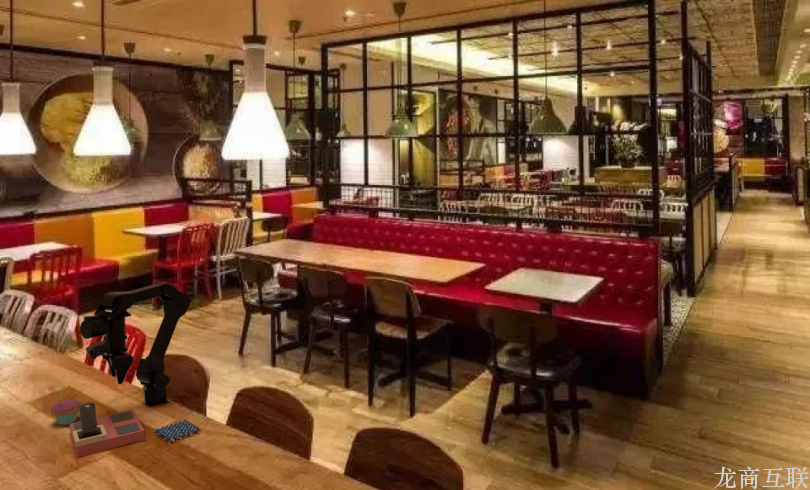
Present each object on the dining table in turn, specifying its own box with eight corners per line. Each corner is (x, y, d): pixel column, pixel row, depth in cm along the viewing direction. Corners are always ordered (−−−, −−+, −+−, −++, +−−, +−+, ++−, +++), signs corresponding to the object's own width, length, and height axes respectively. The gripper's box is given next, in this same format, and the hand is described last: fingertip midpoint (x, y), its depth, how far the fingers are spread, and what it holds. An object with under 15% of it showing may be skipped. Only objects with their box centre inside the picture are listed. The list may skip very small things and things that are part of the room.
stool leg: (100, 443, 179) (97, 401, 177) (95, 450, 175) (91, 407, 173) (86, 444, 178) (82, 402, 176) (81, 451, 174) (77, 408, 172)
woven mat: (152, 435, 185) (152, 429, 184) (186, 424, 192) (185, 418, 192) (168, 446, 178) (167, 439, 177) (202, 434, 185) (201, 428, 185)
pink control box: (133, 418, 196) (132, 405, 195) (145, 439, 181) (144, 425, 180) (70, 433, 186) (69, 419, 185) (77, 456, 171) (75, 441, 170)
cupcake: (68, 428, 189) (65, 391, 187) (45, 426, 191) (41, 390, 189) (88, 417, 197) (85, 381, 196) (65, 415, 199) (62, 380, 197)
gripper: (82, 329, 196) (83, 377, 197) (93, 342, 181) (94, 393, 182) (119, 325, 202) (120, 371, 204) (133, 337, 187) (134, 386, 189)
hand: (116, 380), depth 194 cm, fingers open, 9 cm apart
